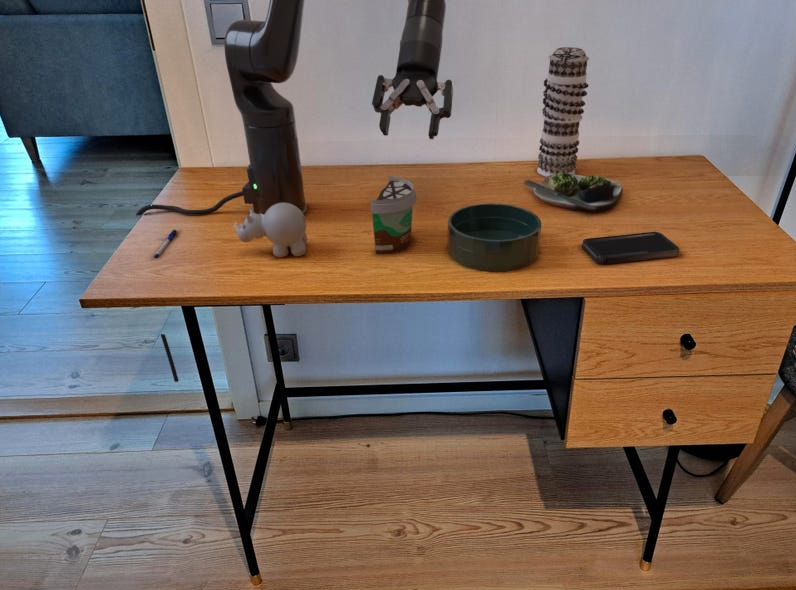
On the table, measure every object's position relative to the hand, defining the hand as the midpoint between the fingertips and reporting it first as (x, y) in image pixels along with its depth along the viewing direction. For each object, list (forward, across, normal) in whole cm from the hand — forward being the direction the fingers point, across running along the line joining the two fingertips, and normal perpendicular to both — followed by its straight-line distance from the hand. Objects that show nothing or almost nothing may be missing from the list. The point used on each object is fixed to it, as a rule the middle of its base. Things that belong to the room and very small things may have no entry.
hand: (407, 135), depth 115 cm
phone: (+16, -41, -2) cm, 44 cm away
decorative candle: (-9, -28, -32) cm, 43 cm away
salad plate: (+1, -33, -20) cm, 39 cm away
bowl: (+20, -18, 0) cm, 27 cm away
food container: (+20, -2, 0) cm, 20 cm away
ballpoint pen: (+26, +39, +5) cm, 47 cm away
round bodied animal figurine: (+25, +19, +4) cm, 32 cm away
